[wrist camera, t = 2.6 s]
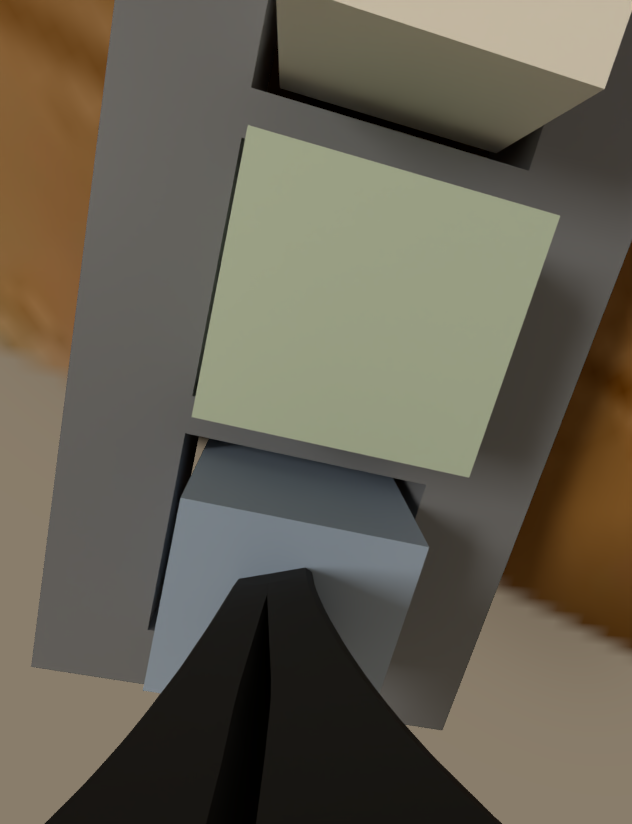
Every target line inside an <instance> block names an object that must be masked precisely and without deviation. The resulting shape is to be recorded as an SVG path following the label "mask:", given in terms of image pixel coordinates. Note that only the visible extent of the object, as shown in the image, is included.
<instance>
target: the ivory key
mask: <svg viewBox="0 0 632 824" xmlns="http://www.w3.org/2000/svg"><path fill="white" fill-rule="evenodd" d="M276 7H277V32H278V56H279V80H280V88H281V89H285V90H288V91H291V92H294V93H298V94H301V95H304V96H308V97H311V98H314V99H318V100H321V101H324V102H328V103H331V104H334V105H338V106H341V107H344V108H348V109H351V110H354V111H358V112H361V113H364V114H367V115H371V116H374V117H377V118H381V119H384V120H387V121H391V122H394V123H397V124H401V125H404V126H407V127H411V128H414V129H417V130H421V131H424V132H427V133H430V134H434V135H437V136H440V137H444V138H447V139H450V140H454V141H457V142H460V143H464V144H467V145H470V146H474V147H477V148H480V149H484V150H487V151H490V152H494V153H497V152H499V151H501V150H503V149H504V148H506V147H508V146H509V145H511V144H513V143H514V142H516V141H518V140H519V139H521V138H523V137H524V136H526V135H528V134H530V133H531V132H533V131H535V130H536V129H538V128H540V127H541V126H543V125H545V124H546V123H548V122H550V121H551V120H553V119H555V118H557V117H558V116H560V115H562V114H563V113H565V112H567V111H568V110H570V109H572V108H573V107H575V106H577V105H578V104H580V103H582V102H584V101H585V100H587V99H589V98H590V97H592V96H594V95H595V94H597V93H599V92H600V91H602V90H604V89H605V86H606V84H607V81H608V78H609V75H610V72H611V69H612V66H613V63H614V61H615V58H616V55H617V52H618V49H619V46H620V43H621V41H622V38H623V35H624V32H625V29H626V26H627V23H628V20H629V18H630V15H631V12H632V0H276Z"/></svg>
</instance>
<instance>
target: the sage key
mask: <svg viewBox="0 0 632 824" xmlns="http://www.w3.org/2000/svg"><path fill="white" fill-rule="evenodd" d="M559 218H560V215H556V214H553V213H549V212H546V211H542V210H539V209H535V208H532V207H529V206H525V205H522V204H518V203H515V202H511V201H508V200H505V199H501V198H498V197H494V196H491V195H487V194H484V193H480V192H477V191H474V190H470V189H467V188H463V187H460V186H456V185H453V184H449V183H446V182H443V181H439V180H436V179H432V178H429V177H425V176H422V175H418V174H415V173H412V172H408V171H405V170H401V169H398V168H394V167H391V166H387V165H384V164H381V163H377V162H374V161H370V160H367V159H363V158H360V157H356V156H353V155H350V154H346V153H343V152H339V151H336V150H332V149H329V148H325V147H322V146H319V145H315V144H312V143H308V142H305V141H301V140H298V139H295V138H291V137H288V136H284V135H281V134H277V133H274V132H270V131H267V130H264V129H260V128H257V127H253V126H250V125H248V127H247V132H246V137H245V142H244V147H243V153H242V158H241V163H240V168H239V173H238V178H237V184H236V189H235V194H234V199H233V204H232V210H231V215H230V220H229V225H228V230H227V236H226V241H225V246H224V251H223V256H222V261H221V267H220V272H219V277H218V282H217V287H216V293H215V298H214V303H213V308H212V313H211V319H210V324H209V329H208V334H207V339H206V344H205V350H204V355H203V360H202V365H201V370H200V376H199V381H198V386H197V391H196V396H195V402H194V407H193V412H192V417H194V418H198V419H203V420H208V421H212V422H217V423H221V424H226V425H230V426H235V427H240V428H244V429H249V430H253V431H258V432H262V433H267V434H272V435H276V436H281V437H285V438H290V439H295V440H299V441H304V442H308V443H313V444H317V445H322V446H327V447H331V448H336V449H340V450H345V451H349V452H354V453H359V454H363V455H368V456H372V457H377V458H381V459H386V460H391V461H395V462H400V463H404V464H409V465H413V466H418V467H423V468H427V469H432V470H436V471H441V472H446V473H450V474H455V475H459V476H464V477H468V478H469V477H470V474H471V471H472V468H473V465H474V462H475V459H476V456H477V454H478V451H479V448H480V445H481V442H482V439H483V436H484V434H485V431H486V428H487V425H488V422H489V419H490V416H491V413H492V411H493V408H494V405H495V402H496V399H497V396H498V393H499V391H500V388H501V385H502V382H503V379H504V376H505V373H506V370H507V368H508V365H509V362H510V359H511V356H512V353H513V350H514V347H515V345H516V342H517V339H518V336H519V333H520V330H521V327H522V325H523V322H524V319H525V316H526V313H527V310H528V307H529V304H530V302H531V299H532V296H533V293H534V290H535V287H536V284H537V281H538V279H539V276H540V273H541V270H542V267H543V264H544V261H545V259H546V256H547V253H548V250H549V247H550V244H551V241H552V238H553V236H554V233H555V230H556V227H557V224H558V221H559Z"/></svg>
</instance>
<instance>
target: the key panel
mask: <svg viewBox="0 0 632 824" xmlns="http://www.w3.org/2000/svg"><path fill="white" fill-rule="evenodd" d="M277 39H278V32H277V7H276V0H115V4H114V11H113V19H112V27H111V35H110V43H109V51H108V59H107V67H106V75H105V83H104V91H103V99H102V107H101V115H100V123H99V131H98V139H97V147H96V155H95V163H94V171H93V179H92V187H91V195H90V203H89V211H88V219H87V227H86V235H85V243H84V251H83V259H82V267H81V274H80V282H79V290H78V298H77V306H76V314H75V322H74V330H73V338H72V346H71V354H70V362H69V370H68V378H67V386H66V394H65V402H64V410H63V418H62V426H61V434H60V442H59V450H58V458H57V466H56V474H55V482H54V490H53V498H52V507H51V514H50V522H49V530H48V537H47V546H46V554H45V561H44V569H43V577H42V585H41V593H40V602H39V609H38V618H37V625H36V633H35V642H34V649H33V657H32V665H31V666H32V667H36V668H42V669H49V670H55V671H62V672H68V673H75V674H81V675H88V676H94V677H101V678H108V679H114V680H120V681H127V682H133V683H139V684H144V682H145V677H146V672H147V667H148V662H149V657H150V651H151V646H152V641H153V636H154V631H155V626H156V621H157V616H158V611H159V605H160V600H161V595H162V590H163V585H164V580H165V575H166V570H167V564H168V559H169V554H170V549H171V544H172V539H173V534H174V529H175V523H176V518H177V513H178V508H179V503H180V498H181V496H182V494H183V492H184V489H185V487H186V485H187V483H188V481H189V479H190V477H191V473H192V467H193V462H194V457H195V452H196V447H197V442H198V437H199V436H201V437H205V438H210V439H215V440H219V441H224V442H229V443H233V444H238V445H243V446H247V447H252V448H257V449H261V450H266V451H271V452H275V453H280V454H285V455H289V456H294V457H299V458H303V459H308V460H312V461H317V462H322V463H326V464H331V465H336V466H340V467H345V468H350V469H354V470H359V471H364V472H368V473H373V474H378V475H382V476H387V477H392V478H393V479H394V481H395V483H396V485H397V487H398V489H399V490H400V492H401V494H402V496H403V498H404V500H405V502H406V504H407V506H408V508H409V510H410V511H411V513H412V515H413V517H414V519H415V521H416V523H417V525H418V527H419V529H420V531H421V532H422V534H423V536H424V538H425V540H426V542H427V544H428V546H429V549H428V552H427V555H426V558H425V561H424V564H423V567H422V570H421V573H420V576H419V579H418V582H417V585H416V588H415V591H414V594H413V597H412V599H411V602H410V605H409V608H408V611H407V614H406V617H405V620H404V623H403V626H402V629H401V632H400V635H399V638H398V641H397V644H396V647H395V649H394V652H393V655H392V658H391V661H390V664H389V667H388V670H387V673H386V676H385V679H384V682H383V685H382V688H381V691H380V695H381V696H382V697H383V699H384V700H385V701H386V703H387V704H388V705H389V706H390V707H391V709H392V710H393V711H394V712H395V713H396V715H397V716H398V717H399V718H400V719H401V721H402V722H403V723H404V724H405V725H412V726H418V727H424V728H431V729H437V730H442V729H443V727H444V724H445V722H446V719H447V717H448V714H449V712H450V709H451V706H452V704H453V701H454V699H455V696H456V693H457V691H458V688H459V686H460V683H461V681H462V678H463V675H464V672H465V670H466V668H467V665H468V662H469V660H470V657H471V655H472V652H473V649H474V647H475V644H476V641H477V639H478V636H479V634H480V631H481V629H482V626H483V623H484V621H485V618H486V616H487V613H488V611H489V608H490V605H491V603H492V600H493V598H494V595H495V593H496V590H497V587H498V585H499V582H500V580H501V577H502V574H503V572H504V569H505V567H506V564H507V562H508V559H509V556H510V554H511V551H512V549H513V546H514V543H515V541H516V538H517V536H518V533H519V531H520V528H521V525H522V523H523V520H524V518H525V515H526V512H527V510H528V507H529V505H530V502H531V499H532V497H533V494H534V492H535V489H536V487H537V484H538V481H539V479H540V476H541V474H542V471H543V468H544V466H545V463H546V461H547V458H548V456H549V453H550V450H551V448H552V445H553V443H554V440H555V437H556V435H557V432H558V430H559V427H560V425H561V422H562V419H563V417H564V414H565V412H566V409H567V406H568V404H569V401H570V399H571V396H572V393H573V391H574V388H575V386H576V383H577V381H578V378H579V375H580V373H581V370H582V368H583V365H584V362H585V360H586V357H587V355H588V352H589V350H590V347H591V344H592V342H593V339H594V337H595V334H596V331H597V329H598V326H599V324H600V321H601V318H602V316H603V313H604V311H605V308H606V306H607V303H608V300H609V298H610V295H611V293H612V290H613V287H614V285H615V282H616V280H617V277H618V275H619V272H620V269H621V267H622V264H623V262H624V259H625V256H626V254H627V251H628V249H629V246H630V244H631V241H632V12H631V15H630V18H629V20H628V23H627V26H626V29H625V32H624V35H623V38H622V41H621V43H620V46H619V49H618V52H617V55H616V58H615V61H614V63H613V66H612V69H611V72H610V75H609V78H608V81H607V84H606V86H605V89H604V90H602V91H600V92H599V93H597V94H595V95H594V96H592V97H590V98H589V99H587V100H585V101H584V102H582V103H580V104H578V105H577V106H575V107H573V108H572V109H570V110H568V111H567V112H565V113H563V114H562V115H560V116H558V117H557V118H555V119H553V120H551V121H550V122H548V123H546V124H545V125H543V126H541V127H540V128H538V129H536V130H535V131H533V132H531V133H530V134H528V135H526V136H524V137H523V138H521V139H519V140H518V141H516V142H514V143H513V144H511V145H509V146H508V147H506V148H504V149H503V150H501V151H499V152H497V153H494V152H490V153H489V156H488V158H485V157H481V156H478V155H475V154H471V153H468V152H465V151H461V150H458V149H455V148H451V147H448V146H445V145H441V144H438V143H434V142H431V141H428V140H424V139H421V138H418V137H414V136H411V135H408V134H404V133H401V132H398V131H394V130H391V129H388V128H384V127H381V126H378V125H374V124H371V123H368V122H364V121H361V120H358V119H354V118H351V117H348V116H344V115H341V114H338V113H334V112H331V111H328V110H324V109H321V108H318V107H314V106H311V105H308V104H304V103H301V102H298V101H294V100H291V99H288V98H284V97H281V96H278V95H274V94H271V93H268V92H267V90H268V85H269V80H270V75H271V69H272V64H273V59H274V54H275V49H276V44H277ZM248 125H250V126H253V127H257V128H260V129H264V130H267V131H270V132H274V133H277V134H281V135H284V136H288V137H291V138H295V139H298V140H301V141H305V142H308V143H312V144H315V145H319V146H322V147H325V148H329V149H332V150H336V151H339V152H343V153H346V154H350V155H353V156H356V157H360V158H363V159H367V160H370V161H374V162H377V163H381V164H384V165H387V166H391V167H394V168H398V169H401V170H405V171H408V172H412V173H415V174H418V175H422V176H425V177H429V178H432V179H436V180H439V181H443V182H446V183H449V184H453V185H456V186H460V187H463V188H467V189H470V190H474V191H477V192H480V193H484V194H487V195H491V196H494V197H498V198H501V199H505V200H508V201H511V202H515V203H518V204H522V205H525V206H529V207H532V208H535V209H539V210H542V211H546V212H549V213H553V214H556V215H560V218H559V221H558V224H557V227H556V230H555V233H554V236H553V238H552V241H551V244H550V247H549V250H548V253H547V256H546V259H545V261H544V264H543V267H542V270H541V273H540V276H539V279H538V281H537V284H536V287H535V290H534V293H533V296H532V299H531V302H530V304H529V307H528V310H527V313H526V316H525V319H524V322H523V325H522V327H521V330H520V333H519V336H518V339H517V342H516V345H515V347H514V350H513V353H512V356H511V359H510V362H509V365H508V368H507V370H506V373H505V376H504V379H503V382H502V385H501V388H500V391H499V393H498V396H497V399H496V402H495V405H494V408H493V411H492V413H491V416H490V419H489V422H488V425H487V428H486V431H485V434H484V436H483V439H482V442H481V445H480V448H479V451H478V454H477V456H476V459H475V462H474V465H473V468H472V471H471V474H470V477H469V478H468V477H464V476H459V475H455V474H450V473H446V472H441V471H436V470H432V469H427V468H423V467H418V466H413V465H409V464H404V463H400V462H395V461H391V460H386V459H381V458H377V457H372V456H368V455H363V454H359V453H354V452H349V451H345V450H340V449H336V448H331V447H327V446H322V445H317V444H313V443H308V442H304V441H299V440H295V439H290V438H285V437H281V436H276V435H272V434H267V433H262V432H258V431H253V430H249V429H244V428H240V427H235V426H230V425H226V424H221V423H217V422H212V421H208V420H203V419H198V418H194V417H192V412H193V407H194V402H195V396H196V391H197V386H198V381H199V376H200V370H201V365H202V360H203V355H204V350H205V344H206V339H207V334H208V329H209V324H210V319H211V313H212V308H213V303H214V298H215V293H216V287H217V282H218V277H219V272H220V267H221V261H222V256H223V251H224V246H225V241H226V236H227V230H228V225H229V220H230V215H231V210H232V204H233V199H234V194H235V189H236V184H237V178H238V173H239V168H240V163H241V158H242V153H243V147H244V142H245V137H246V132H247V127H248Z"/></svg>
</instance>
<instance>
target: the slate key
mask: <svg viewBox="0 0 632 824" xmlns="http://www.w3.org/2000/svg"><path fill="white" fill-rule="evenodd" d="M428 549H429V546H428V544H427V542H426V540H425V538H424V536H423V534H422V532H421V531H420V529H419V527H418V525H417V523H416V521H415V519H414V517H413V515H412V513H411V511H410V510H409V508H408V506H407V504H406V502H405V500H404V498H403V496H402V494H401V492H400V490H399V489H398V487H397V485H396V483H395V481H394V479H393V478H392V477H387V476H382V475H378V474H373V473H368V472H364V471H359V470H354V469H350V468H345V467H340V466H336V465H331V464H326V463H322V462H317V461H312V460H308V459H303V458H299V457H294V456H289V455H285V454H280V453H275V452H271V451H266V450H261V449H257V448H252V447H247V446H243V445H238V444H233V443H229V442H224V441H219V440H215V439H210V438H209V440H208V442H207V444H206V446H205V448H204V450H203V452H202V454H201V457H200V459H199V461H198V463H197V465H196V467H195V469H194V471H193V473H192V475H191V477H190V479H189V481H188V483H187V485H186V487H185V489H184V492H183V494H182V496H181V498H180V503H179V508H178V513H177V518H176V523H175V529H174V534H173V539H172V544H171V549H170V554H169V559H168V564H167V570H166V575H165V580H164V585H163V590H162V595H161V600H160V605H159V611H158V616H157V621H156V626H155V631H154V636H153V641H152V646H151V651H150V657H149V662H148V667H147V672H146V677H145V682H144V687H143V691H150V692H156V693H161V692H162V691H163V690H164V688H165V687H166V686H167V684H168V683H169V682H170V680H171V679H172V678H173V676H174V675H175V674H176V673H177V671H178V670H179V668H180V667H181V666H182V664H183V663H184V661H185V660H186V658H187V657H188V655H189V654H190V652H191V651H192V649H193V648H194V646H195V645H196V644H197V642H198V641H199V639H200V638H201V636H202V635H203V633H204V632H205V630H206V629H207V627H208V626H209V624H210V622H211V621H212V619H213V618H214V616H215V615H216V613H217V611H218V610H219V608H220V607H221V605H222V603H223V602H224V600H225V599H226V597H227V595H228V594H229V592H230V590H231V589H232V587H233V586H234V584H235V583H236V582H237V580H238V579H240V578H246V577H252V576H258V575H264V574H270V573H276V572H282V571H287V570H293V569H299V568H307V569H308V570H310V571H311V572H312V574H313V579H314V584H315V587H316V590H317V593H318V595H319V598H320V600H321V602H322V604H323V606H324V608H325V610H326V612H327V614H328V616H329V618H330V620H331V622H332V623H333V625H334V627H335V629H336V630H337V632H338V634H339V635H340V637H341V639H342V640H343V642H344V644H345V645H346V647H347V648H348V650H349V652H350V653H351V655H352V656H353V658H354V659H355V661H356V662H357V663H358V665H359V666H360V668H361V669H362V671H363V672H364V673H365V675H366V676H367V678H368V679H369V680H370V682H371V683H372V684H373V686H374V687H375V688H376V690H377V691H378V692H379V694H380V691H381V688H382V685H383V682H384V679H385V676H386V673H387V670H388V667H389V664H390V661H391V658H392V655H393V652H394V649H395V647H396V644H397V641H398V638H399V635H400V632H401V629H402V626H403V623H404V620H405V617H406V614H407V611H408V608H409V605H410V602H411V599H412V597H413V594H414V591H415V588H416V585H417V582H418V579H419V576H420V573H421V570H422V567H423V564H424V561H425V558H426V555H427V552H428Z"/></svg>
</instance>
